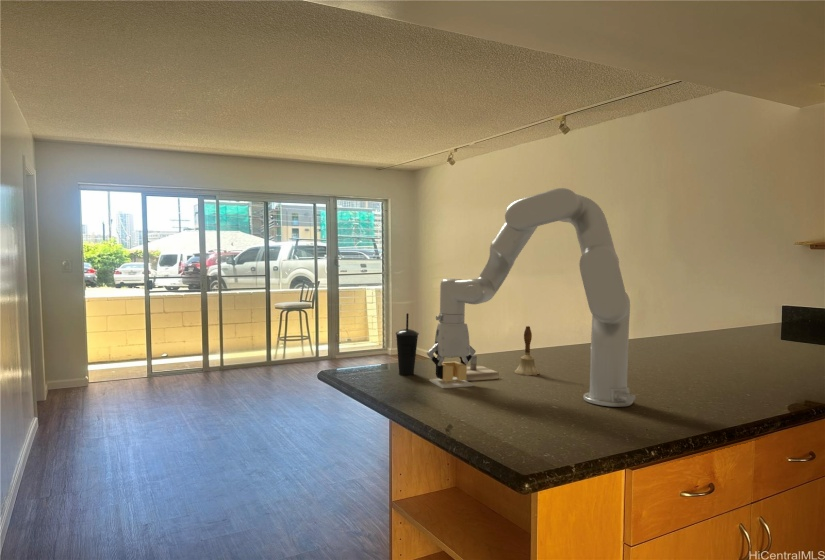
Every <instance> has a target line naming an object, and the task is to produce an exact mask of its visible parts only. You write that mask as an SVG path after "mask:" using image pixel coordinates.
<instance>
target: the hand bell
mask: <svg viewBox="0 0 825 560" xmlns="http://www.w3.org/2000/svg"><path fill="white" fill-rule="evenodd" d="M523 333H524V334H523V340H524V344H525V345H524V355H523V356H522V355H521V356H520V361H519V365H518V367H517V368H516V369H515V370H514V374H517V375H520V376H527V375H533V376H538V375H537V374H539V375H540V372H539V370H538V369H537V368H536V363H535V357H534V356H532V355H531V342H532V339H533V337H532V336H533V335H532V330H531V326H530V325H526V326H525V329H524V332H523Z"/></svg>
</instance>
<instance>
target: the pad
mask: <svg viewBox="0 0 825 560" xmlns="http://www.w3.org/2000/svg"><path fill="white" fill-rule="evenodd" d="M428 382H429V383H431V384H434V385H435V386H438V387H439V388H441V389H451V388H464V387H465V388H468V387H473V386H474V384H473V383H472V382H470V381H465V380H457V378H456V377H453V381H443V380H441V379H439V378H430V379H428Z"/></svg>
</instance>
